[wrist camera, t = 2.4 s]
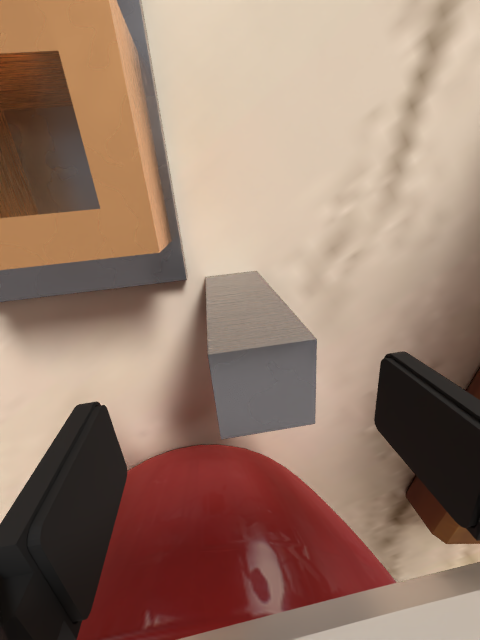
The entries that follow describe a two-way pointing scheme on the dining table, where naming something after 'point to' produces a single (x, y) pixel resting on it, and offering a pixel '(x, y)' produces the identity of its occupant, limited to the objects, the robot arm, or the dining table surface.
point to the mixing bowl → (220, 547)
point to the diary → (432, 509)
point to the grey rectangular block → (257, 357)
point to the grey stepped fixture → (81, 152)
